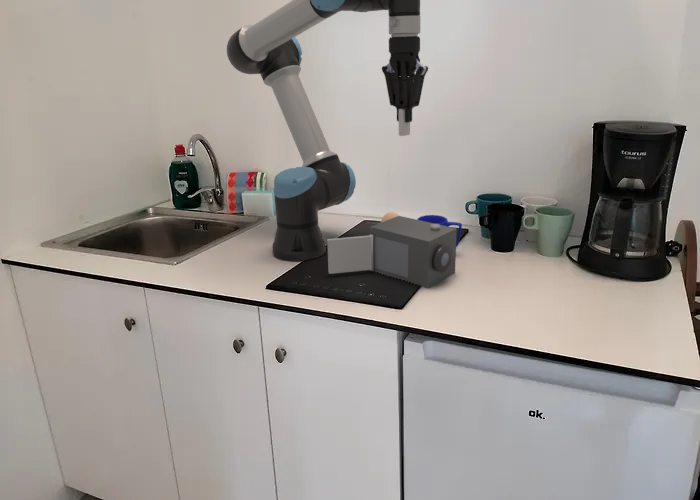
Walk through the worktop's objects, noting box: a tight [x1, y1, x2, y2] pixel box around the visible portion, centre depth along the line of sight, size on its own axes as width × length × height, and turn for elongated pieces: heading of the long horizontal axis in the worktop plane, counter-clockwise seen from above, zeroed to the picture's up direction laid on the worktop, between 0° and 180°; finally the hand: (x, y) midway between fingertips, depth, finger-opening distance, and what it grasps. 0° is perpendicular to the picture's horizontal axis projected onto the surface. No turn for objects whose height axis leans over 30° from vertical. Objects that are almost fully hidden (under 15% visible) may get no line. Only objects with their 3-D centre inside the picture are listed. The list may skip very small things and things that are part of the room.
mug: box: [416, 214, 463, 248], centre depth 158 cm, size 8×12×10 cm
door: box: [326, 233, 374, 275], centre depth 146 cm, size 12×2×10 cm, turn 100°
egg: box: [380, 211, 400, 223], centre depth 172 cm, size 7×7×8 cm
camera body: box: [369, 215, 458, 289], centre depth 145 cm, size 20×12×13 cm, turn 48°
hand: (404, 134), depth 145 cm, fingers closed
